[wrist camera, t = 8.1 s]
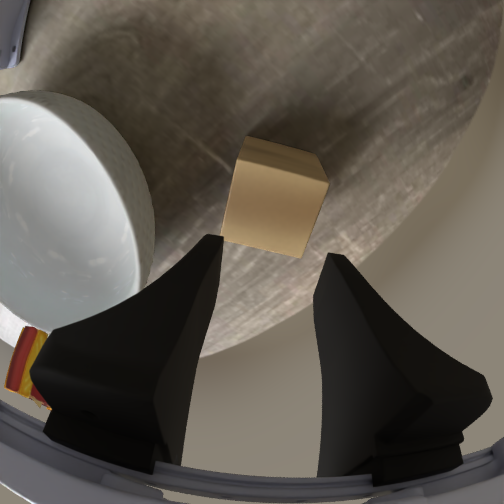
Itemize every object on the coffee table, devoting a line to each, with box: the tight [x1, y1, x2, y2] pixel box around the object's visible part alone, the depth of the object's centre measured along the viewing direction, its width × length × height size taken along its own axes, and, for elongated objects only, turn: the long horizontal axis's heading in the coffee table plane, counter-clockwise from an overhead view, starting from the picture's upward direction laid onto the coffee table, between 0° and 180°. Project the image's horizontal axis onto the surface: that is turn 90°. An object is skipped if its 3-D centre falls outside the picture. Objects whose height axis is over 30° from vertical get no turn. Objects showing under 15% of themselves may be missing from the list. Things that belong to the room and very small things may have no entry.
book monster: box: [4, 326, 52, 410], centre depth 27 cm, size 11×9×12 cm
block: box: [220, 136, 330, 258], centre depth 17 cm, size 4×4×5 cm
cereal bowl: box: [0, 90, 155, 334], centre depth 17 cm, size 17×17×7 cm
